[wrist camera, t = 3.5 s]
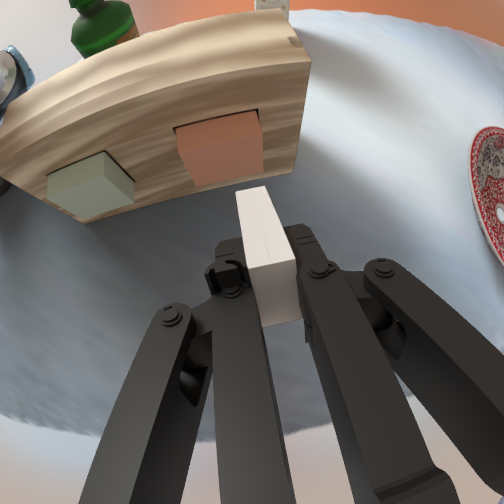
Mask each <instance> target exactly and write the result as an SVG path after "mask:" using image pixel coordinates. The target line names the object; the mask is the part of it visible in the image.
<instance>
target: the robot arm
mask: <svg viewBox="0 0 504 504" xmlns="http://www.w3.org/2000/svg"><path fill="white" fill-rule="evenodd" d="M34 81H35V76H34V73H33V71H32V70H31V69H30V67H29V66H28V63H27V62H26V61H25V59H24V58H23V56H22V55H21V54H20V53H19V51H18V50H17V49H16V48H15V47H14V46H12V45H10V46H8V47H7V48H6V49H4V50H3V51H0V121H1V119H2V118H3V117H4V116H5V113H6V110H7V107H8V104H9V103H11V102H12V101H14V100H15V99H17V98H18V97H19V96H21V95H22V94H24V93H26V92H27V91H28V89H29V88H30V87H31V86H32V85H33V84H34ZM11 184H12V183H11V182H9V181H7V180H6V179H4V178H2V177H1V176H0V196H1V195H2V194H3V193H4V192H5V191H6V190H7V189H8V188H9V186H10V185H11ZM235 193H236V200H237V206H238V213H239V219H240V225H241V231H242V237H240V238H235V239H230V240H226V241H221V242H220V243H219V244H218V246H217V248H216V249H215V257H216V258H215V262H214V263H213V264H211V265H210V266H209V267H208V268H207V269H206V272H205V278H206V280H207V283H208V286H209V289H210V292H211V295H212V297H211V298H210V299H209V300H208V301H206V302H205V303H203V304H201V305H199V306H197V307H195V308H193V309H189V307H188V306H186V305H185V304H179V303H176V304H170V305H168V306H165V307H163V308H162V309H161V310H159V311H158V312H157V313H156V315H155V316H154V317H153V319H152V322H151V324H150V326H149V328H148V330H147V332H146V334H145V336H144V339H143V341H142V343H141V345H140V347H139V350H138V352H137V354H136V356H135V358H134V361H133V363H132V365H131V367H130V370H129V372H128V374H127V377H126V379H125V381H124V383H123V386H122V388H121V391H120V393H119V395H118V398H117V400H116V402H115V405H114V407H113V410H112V412H111V415H110V417H109V420H108V422H107V425H106V427H105V430H104V432H103V435H102V438H101V440H100V443H99V446H98V448H97V451H96V454H95V456H94V459H93V462H92V465H91V468H90V470H89V473H88V476H87V479H86V482H85V485H84V488H83V491H82V494H81V497H80V500H79V504H180V502H181V498H182V494H183V490H184V486H185V482H186V477H187V474H188V469H189V465H190V461H191V457H192V453H193V449H194V445H195V441H196V437H197V433H198V429H199V425H200V421H201V417H202V413H203V409H204V405H205V401H206V397H207V393H208V389H209V385H210V381H211V377H212V373H213V387H214V410H215V430H216V447H217V460H218V474H219V488H220V499H221V504H296V499H295V494H294V489H293V484H292V479H291V474H290V469H289V464H288V458H287V453H286V449H285V443H284V437H283V432H282V427H281V422H280V416H279V411H278V406H277V401H276V395H275V390H274V385H273V380H272V374H271V369H270V364H269V359H268V353H267V348H266V343H265V338H264V334H263V329H262V327H267V326H272V325H277V324H281V323H286V322H290V321H295V320H299V319H302V316H303V319H304V327H305V340H306V343H307V342H309V345H310V348H311V351H312V355H313V358H314V361H315V364H316V368H317V371H318V374H319V378H320V381H321V384H322V388H323V391H324V394H325V398H326V401H327V404H328V408H329V411H330V415H331V418H332V422H333V425H334V428H335V432H336V435H337V439H338V442H339V446H340V450H341V453H342V457H343V461H344V464H345V468H346V471H347V475H348V479H349V483H350V486H351V490H352V494H353V498H354V502H355V504H460V501H459V498H458V495H457V492H456V489H455V486H454V484H453V482H452V480H451V478H450V477H449V475H448V474H447V473H446V472H445V471H443V470H441V469H439V468H437V467H436V466H435V464H434V463H433V461H432V459H431V457H430V454H429V451H428V449H427V446H426V444H425V441H424V439H423V436H422V434H421V431H420V429H419V427H418V424H417V422H416V420H415V417H414V415H413V413H412V410H411V408H410V406H409V404H408V401H407V399H406V397H405V395H404V392H403V390H402V388H401V386H400V384H399V382H398V380H397V377H396V375H395V373H394V371H395V372H396V374H397V375H398V376H399V377H400V378H401V380H402V381H403V382H404V383H405V384H406V386H407V387H408V388H409V389H410V390H411V392H412V393H413V394H414V395H415V396H416V398H417V399H418V400H419V401H420V402H421V403H422V405H423V406H424V407H425V409H426V410H427V411H428V412H429V414H430V415H431V416H432V417H433V418H434V420H435V421H436V422H437V423H438V425H439V426H440V427H441V428H442V430H443V431H444V432H445V433H446V435H447V436H448V437H449V438H450V440H451V441H452V442H453V443H454V445H455V446H456V447H457V449H458V450H459V451H460V452H461V454H462V455H463V456H464V458H465V459H466V460H467V462H468V463H469V464H470V465H471V467H472V468H473V469H474V471H475V472H476V473H477V475H478V476H479V477H480V478H481V479H482V480H483V481H484V483H485V484H486V485H488V486H489V487H490V488H491V489H492V490H494V491H495V492H497V493H498V494H500V495H502V496H503V497H502V498H501V499H500V501H499V503H498V504H504V355H503V354H502V353H501V352H500V351H499V350H498V349H497V348H496V347H495V346H494V345H492V344H491V343H490V342H489V341H488V340H487V339H486V338H485V337H484V336H483V335H482V334H481V333H480V332H479V331H478V330H477V329H475V328H474V327H473V326H472V325H471V324H470V323H469V322H468V321H467V320H466V319H464V318H463V317H462V316H461V315H460V314H459V313H458V312H457V311H455V310H454V309H453V308H452V307H451V306H450V305H449V304H447V303H446V302H445V301H444V300H443V299H442V298H440V297H439V296H438V295H437V294H436V293H434V292H433V291H432V290H431V289H430V288H428V287H427V286H426V285H425V284H424V283H422V282H421V281H420V280H419V279H417V278H416V277H415V276H414V275H412V274H411V273H410V272H409V271H407V270H406V269H405V268H404V267H402V266H401V265H400V264H398V263H397V262H395V261H393V260H390V259H386V258H378V259H374V260H371V261H370V262H368V263H367V264H366V265H365V267H364V271H344V270H340V268H339V267H338V266H337V265H336V264H335V263H334V262H332V261H329V260H328V259H327V257H326V255H325V254H324V252H323V250H322V248H321V247H320V245H319V243H318V242H317V240H316V238H315V236H314V234H313V233H312V231H311V229H310V228H309V227H307V226H305V225H304V224H297V225H293V226H288V227H282V225H281V223H280V220H279V218H278V216H277V213H276V211H275V209H274V206H273V204H272V202H271V199H270V197H269V195H268V192H267V190H266V188H265V186H261V187H256V188H251V189H246V190H241V191H237V192H235ZM301 313H302V316H301ZM393 370H394V371H393Z"/></svg>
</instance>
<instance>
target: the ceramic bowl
mask: <svg viewBox="0 0 504 504" xmlns="http://www.w3.org/2000/svg"><path fill="white" fill-rule="evenodd" d="M468 174H469V182H470V188H471V194H472V201H473V206H474V210H475V214H476V217H477V220H478V223H479V226H480V228H481V230H482V233H483V235H484V237H485V239H486V241H487V242H488V244H489V246H490V247H491V249H492V250H493V252H494V253H495V255H496V256H497V258H498V259H499V261H500V262H501V264H502V265H503V267H504V221H503V222H502V221H501V220H500V219H499V218H498V216H497V207H501V208H502V209H503V211H504V129H503V128H500V127H495V126H488V127H484V128H482V129H480V130H479V131H478V132H477V133H476V134H475V135H474V137H473V139H472V141H471V144H470V147H469V152H468Z"/></svg>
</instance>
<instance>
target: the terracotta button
mask: <svg viewBox="0 0 504 504" xmlns="http://www.w3.org/2000/svg"><path fill="white" fill-rule="evenodd" d="M176 137H177V147H178V154H179V155H180V157H181V159H182V161H183V163H184V165H185V166H186V168H187V170H188V172H189V174H190V176H191V178H192V179H193V181H194V183H195V185H196V187H198V186H202V185H206V184H210V183H215V182H219V181H224V180H228V179H233V178H237V177H242V176H247V175H252V174H256V173H262V172H264V169H263V134H262V130H261V127H260V123H259V120H258V117H257V113H256V111H250V112H245V113H239V114H234V115H230V116H225V117H220V118H216V119H211V120H207V121H203V122H199V123H195V124H191V125H187V126H183V127H179V128H176Z"/></svg>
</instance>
